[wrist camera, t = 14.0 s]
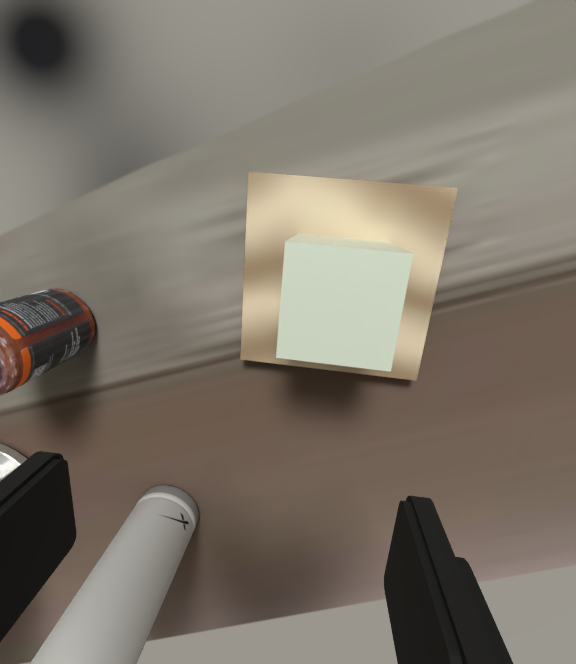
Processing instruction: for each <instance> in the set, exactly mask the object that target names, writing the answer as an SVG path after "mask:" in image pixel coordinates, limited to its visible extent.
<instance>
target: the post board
mask: <svg viewBox="0 0 576 664" xmlns="http://www.w3.org/2000/svg"><path fill="white" fill-rule="evenodd" d="M457 190H458V188H449V187H436V186H423V185H411V184H398V183H385V182H372V181H359V180H347V179H334V178H321V177H308V176H295V175H283V174H270V173H257V172H249V175H248V198H247V221H246V244H245V267H244V291H243V314H242V337H241V360H250V361H258V362H266V363H275V364H283V365H291V366H300V367H308V368H316V369H325V370H333V371H341V372H349V373H358V374H366V375H374V376H383V377H391V378H399V379H408V380H417V376H418V371H419V366H420V362H421V357H422V353H423V348H424V343H425V339H426V334H427V329H428V325H429V320H430V315H431V311H432V306H433V302H434V297H435V292H436V288H437V283H438V278H439V274H440V269H441V264H442V260H443V255H444V251H445V246H446V241H447V237H448V232H449V227H450V223H451V218H452V214H453V209H454V204H455V200H456V195H457ZM297 234H304V235H315V236H325V237H336V238H347V239H358V240H368V241H379V242H389V243H391V244H393V245H396V246H398V247H400V248H402V249H404V250H407V251H409V252H411V253H413V259H412V264H411V269H410V274H409V280H408V285H407V290H406V295H405V300H404V306H403V311H402V316H401V321H400V327H399V332H398V337H397V342H396V348H395V353H394V358H393V363H392V368H391V372H389V371H381V370H373V369H365V368H356V367H348V366H340V365H331V364H323V363H315V362H307V361H298V360H290V359H282V358H276V350H277V338H278V325H279V312H280V300H281V287H282V274H283V262H284V249H285V241H287V240H289V239H290V238H292V237H294V236H295V235H297Z"/></svg>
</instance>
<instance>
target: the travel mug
mask: <svg viewBox="0 0 576 664" xmlns="http://www.w3.org/2000/svg"><path fill="white" fill-rule="evenodd" d="M198 518H199V512H198V508H197V505H196V503H195V502H194V500H193V499H192V498H191V497H190V496H189V495H188V494H187V493H186V492H184V491H182V490H181V489H178V488H176V487H173V486H167V485H161V486H155V487H152V488H150V489H148V490H147V491H146V492H145V493H144V494H143V495H142V497H141V498H140V500H139V501H138V503H137V504H136V506H135V507H134V509H133V510H132V512H131V513H130V515H129V516H128V518H127V519H126V521H125V522H124V524H123V525H122V527H121V528H120V530H119V531H118V533H117V534H116V536H115V537H114V539H113V540H112V542H111V543H110V545H109V546H108V548H107V549H106V551H105V552H104V554H103V555H102V557H101V558H100V560H99V561H98V563H97V564H96V566H95V567H94V569H93V570H92V572H91V573H90V575H89V576H88V578H87V579H86V580H85V582H84V583H83V585H82V586H81V588H80V589H79V591H78V592H77V594H76V595H75V597H74V598H73V600H72V601H71V603H70V604H69V606H68V607H67V609H66V610H65V612H64V613H63V615H62V616H61V618H60V619H59V621H58V622H57V624H56V625H55V627H54V628H53V630H52V631H51V633H50V634H49V636H48V637H47V639H46V640H45V642H44V643H43V645H42V646H41V648H40V649H39V651H38V652H37V654H36V655H35V657H34V658H33V660H32V661H31V663H30V664H136V663H137V661H138V659H139V656H140V654H141V652H142V650H143V647H144V645H145V643H146V640H147V638H148V636H149V633H150V631H151V629H152V626H153V624H154V622H155V619H156V617H157V615H158V612H159V610H160V608H161V605H162V603H163V601H164V599H165V596H166V594H167V592H168V589H169V587H170V585H171V582H172V580H173V578H174V575H175V573H176V571H177V568H178V566H179V564H180V561H181V559H182V557H183V555H184V552H185V550H186V548H187V545H188V543H189V541H190V538H191V536H192V534H193V531H194V529H195V527H196V524H197V522H198Z"/></svg>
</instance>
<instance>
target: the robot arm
mask: <svg viewBox="0 0 576 664" xmlns="http://www.w3.org/2000/svg"><path fill="white" fill-rule="evenodd" d="M75 539H76V526H75V518H74V510H73V502H72V494H71V486H70V478H69V470H68V463H67V461H66V460H64V459H63V456H62V455H61V454H58V453H50V452H42V451H40V452H36V453H35V454H33V455H32V456H31V457H29V458H28V459H27V458H26V457H24V456H23V455H22V454H20V453H19V452H17V451H15V450H13V449H11V448H10V447H8V446H5V445H2V444H0V642H1V640H2V639H3V638H4V636H5V635H6V634H7V633H8V631H9V630H10V629H11V627H12V626H13V625H14V623H15V622H16V621H17V619H18V618H19V617H20V615H21V614H22V613H23V611H24V610H25V609H26V607H27V606H28V605H29V604H30V602H31V601H32V600H33V598H34V597H35V596H36V594H37V593H38V592H39V590H40V589H41V588H42V586H43V585H44V584H45V582H46V581H47V580H48V578H49V577H50V576H51V575H52V573H53V572H54V571H55V569H56V568H57V567H58V565H59V564H60V563H61V561H62V560H63V559H64V557H65V556H66V555H67V553H68V552H69V551H70V549H71V548H72V546H73V544H74V542H75ZM384 589H385V595H386V601H387V606H388V612H389V617H390V623H391V628H392V634H393V640H394V645H395V651H396V656H397V661H398V664H513V662H512V660H511V657H510V655H509V653H508V651H507V648H506V646H505V644H504V642H503V639H502V637H501V635H500V632H499V630H498V628H497V626H496V623H495V621H494V619H493V617H492V614H491V612H490V610H489V608H488V605H487V603H486V601H485V599H484V596H483V594H482V592H481V589H480V587H479V585H478V583H477V580H476V578H475V576H474V574H473V571H472V569H471V567H470V565H469V564H468V562H467V561H466V560H465V559H464V558H460V557H455V555H454V553H453V550H452V548H451V545H450V543H449V540H448V538H447V536H446V533H445V531H444V528H443V526H442V523H441V521H440V518H439V516H438V514H437V511H436V509H435V506H434V504H433V502H432V500H431V499H430V498H424V497H416V496H408V497H407V499H406V501H400V503H399V507H398V512H397V517H396V521H395V526H394V531H393V536H392V541H391V545H390V550H389V555H388V560H387V565H386V570H385V575H384Z"/></svg>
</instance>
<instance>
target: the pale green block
mask: <svg viewBox="0 0 576 664" xmlns="http://www.w3.org/2000/svg"><path fill="white" fill-rule="evenodd" d="M412 259H413V253H411V252H409V251H407V250H404V249H402V248H400V247H398V246H396V245H393V244H391V243H389V242H379V241H368V240H358V239H347V238H336V237H325V236H315V235H304V234H297V235H295V236H294V237H292V238H290V239H289V240H287V241H285V249H284V262H283V274H282V287H281V300H280V312H279V325H278V338H277V350H276V358H282V359H290V360H298V361H307V362H315V363H323V364H331V365H340V366H348V367H356V368H365V369H373V370H381V371H389V372H391V368H392V363H393V358H394V353H395V348H396V342H397V337H398V332H399V327H400V321H401V316H402V311H403V306H404V300H405V295H406V290H407V285H408V280H409V274H410V269H411V264H412Z"/></svg>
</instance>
